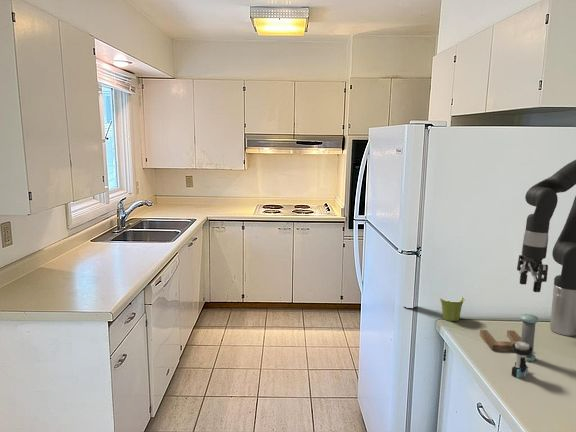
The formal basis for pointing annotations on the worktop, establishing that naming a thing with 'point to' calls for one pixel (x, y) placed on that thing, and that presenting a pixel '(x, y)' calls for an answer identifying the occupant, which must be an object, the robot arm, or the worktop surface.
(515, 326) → the worktop surface
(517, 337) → the notched board
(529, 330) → the spool
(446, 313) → the plant pot
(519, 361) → the push button
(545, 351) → the worktop surface
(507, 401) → the worktop surface
